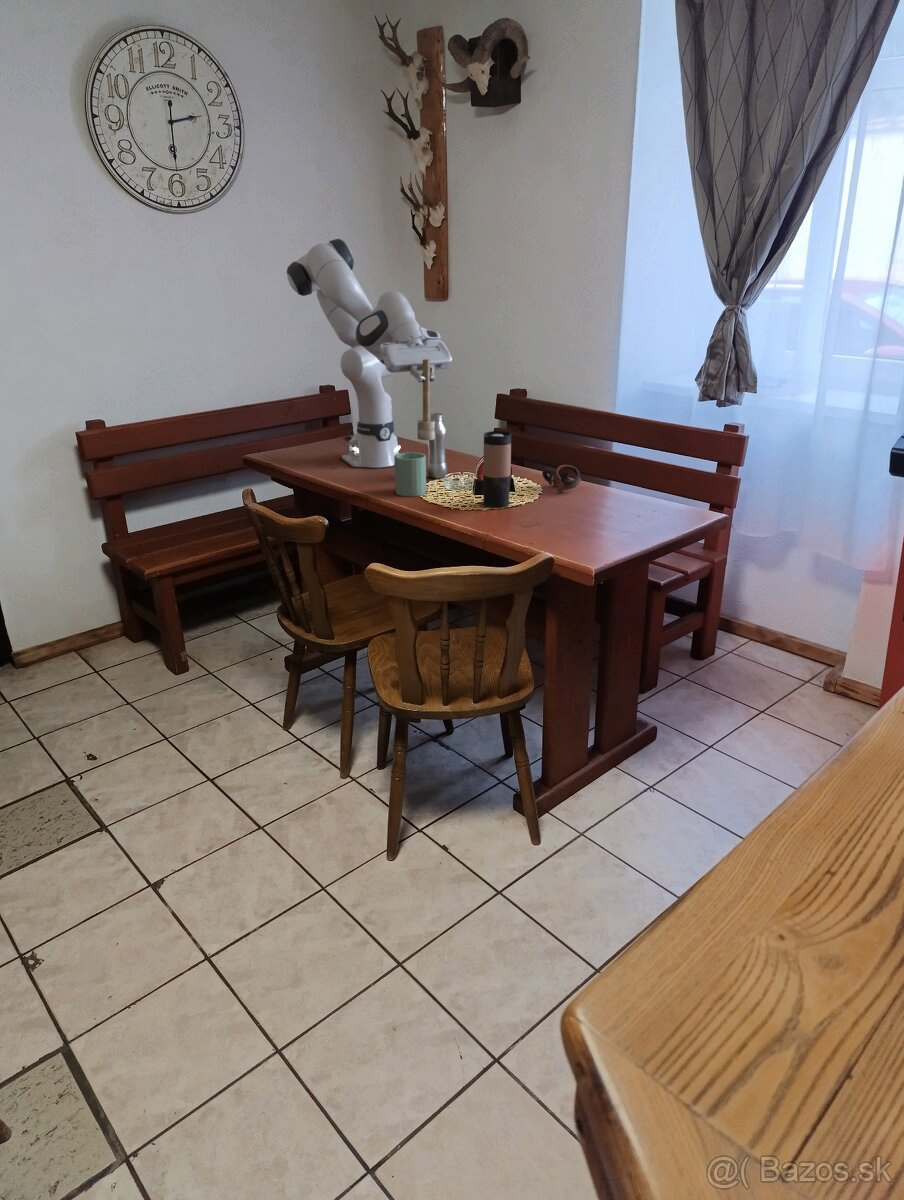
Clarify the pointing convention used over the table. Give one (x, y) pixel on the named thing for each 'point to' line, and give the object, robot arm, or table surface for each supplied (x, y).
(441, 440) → the silver metal bottle
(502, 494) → the travel mug
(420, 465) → the cup
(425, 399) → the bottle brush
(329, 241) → the robot arm
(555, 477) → the dark looped ring
